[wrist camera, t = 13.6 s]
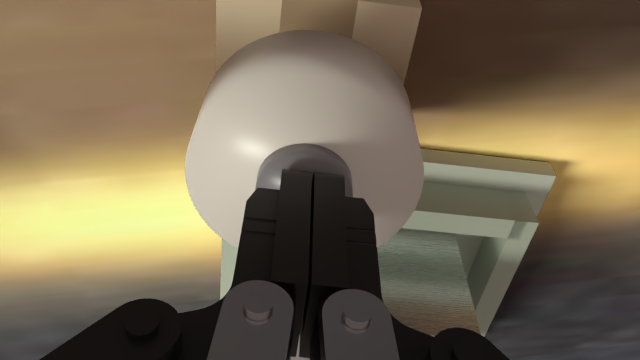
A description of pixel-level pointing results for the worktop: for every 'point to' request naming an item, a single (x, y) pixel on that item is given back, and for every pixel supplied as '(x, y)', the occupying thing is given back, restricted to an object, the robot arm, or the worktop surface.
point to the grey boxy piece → (424, 282)
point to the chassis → (471, 218)
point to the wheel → (304, 129)
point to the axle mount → (322, 24)
